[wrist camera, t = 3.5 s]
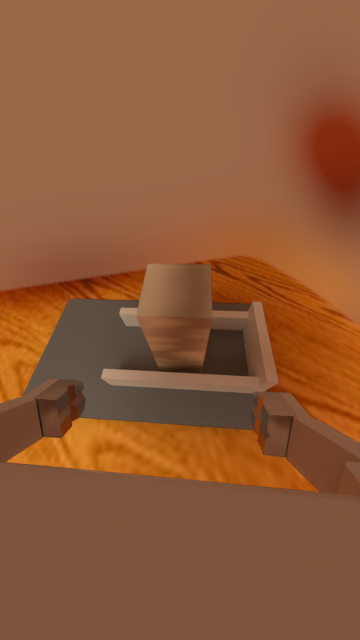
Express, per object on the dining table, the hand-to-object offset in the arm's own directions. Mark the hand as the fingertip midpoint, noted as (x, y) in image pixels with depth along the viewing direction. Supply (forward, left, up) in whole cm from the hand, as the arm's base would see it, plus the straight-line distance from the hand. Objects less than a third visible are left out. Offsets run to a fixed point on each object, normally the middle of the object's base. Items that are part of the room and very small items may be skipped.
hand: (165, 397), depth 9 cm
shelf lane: (-4, +8, -13) cm, 16 cm away
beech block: (0, +8, -13) cm, 15 cm away
